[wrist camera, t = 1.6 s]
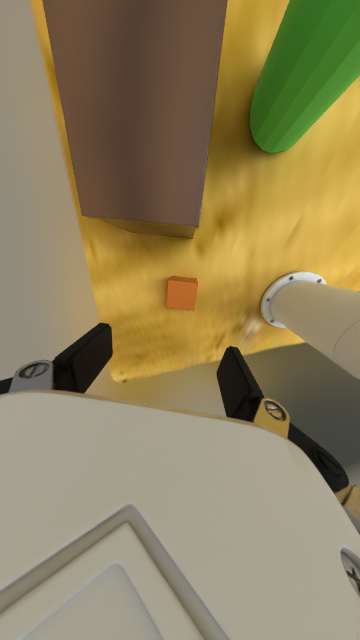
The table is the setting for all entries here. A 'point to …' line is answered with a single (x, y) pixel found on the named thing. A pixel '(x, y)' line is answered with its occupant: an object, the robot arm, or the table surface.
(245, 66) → the table surface
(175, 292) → the cube
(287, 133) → the bottle
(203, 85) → the shelf
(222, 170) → the table surface
